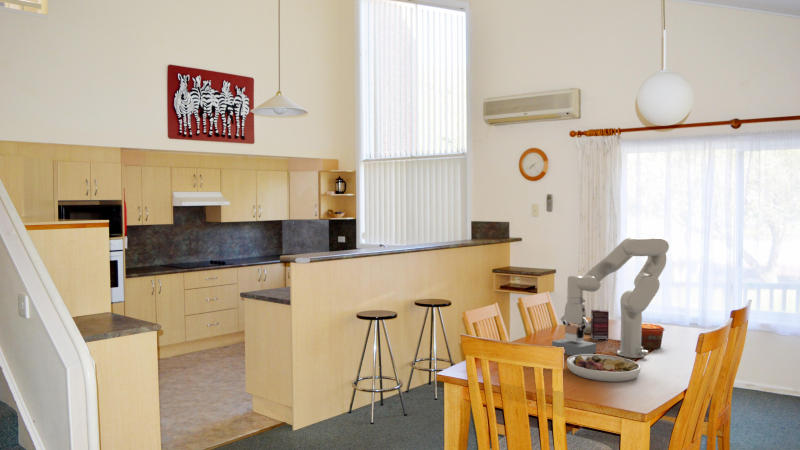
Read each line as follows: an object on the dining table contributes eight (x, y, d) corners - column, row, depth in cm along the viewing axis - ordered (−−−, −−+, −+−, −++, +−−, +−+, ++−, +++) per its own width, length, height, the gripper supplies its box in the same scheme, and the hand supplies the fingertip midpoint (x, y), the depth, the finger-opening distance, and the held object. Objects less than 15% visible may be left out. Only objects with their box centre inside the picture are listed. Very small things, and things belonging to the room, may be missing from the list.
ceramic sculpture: (580, 316, 341) (606, 319, 339) (579, 330, 342) (605, 333, 339) (582, 319, 331) (609, 322, 328) (581, 334, 331) (608, 337, 329)
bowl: (582, 361, 272) (582, 344, 272) (649, 373, 253) (649, 355, 253) (555, 374, 249) (555, 356, 248) (626, 389, 230) (627, 369, 229)
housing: (583, 340, 288) (584, 326, 288) (576, 341, 284) (576, 327, 284) (572, 337, 293) (572, 324, 293) (564, 339, 289) (565, 325, 289)
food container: (624, 344, 308) (624, 324, 308) (645, 341, 315) (645, 322, 315) (649, 351, 294) (650, 330, 294) (670, 348, 301) (671, 327, 301)
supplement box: (606, 338, 323) (606, 309, 323) (608, 340, 318) (609, 311, 318) (590, 337, 324) (590, 309, 323) (592, 339, 319) (593, 310, 319)
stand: (596, 353, 287) (596, 343, 287) (579, 357, 278) (579, 347, 278) (568, 347, 299) (568, 337, 299) (551, 351, 290) (552, 341, 290)
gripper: (594, 302, 284) (594, 338, 284) (564, 297, 297) (564, 332, 297) (586, 303, 279) (585, 340, 279) (555, 299, 292) (555, 334, 293)
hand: (574, 336), depth 288 cm, fingers closed on housing, 6 cm apart
